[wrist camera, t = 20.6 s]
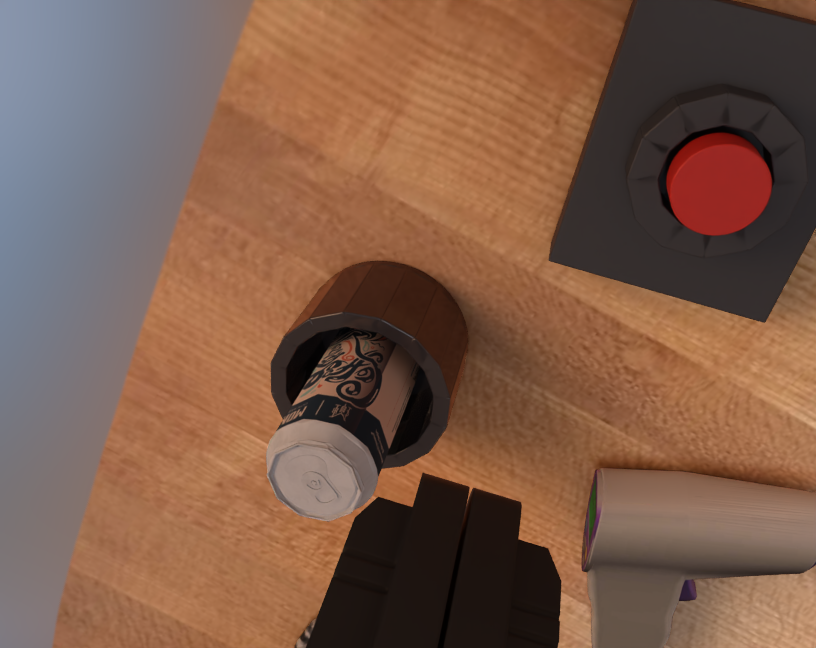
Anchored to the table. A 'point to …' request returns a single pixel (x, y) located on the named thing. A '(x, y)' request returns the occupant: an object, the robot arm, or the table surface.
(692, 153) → the button
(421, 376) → the holder
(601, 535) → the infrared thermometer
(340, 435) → the beer can
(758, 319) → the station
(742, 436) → the table surface
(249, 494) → the table surface
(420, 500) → the robot arm
